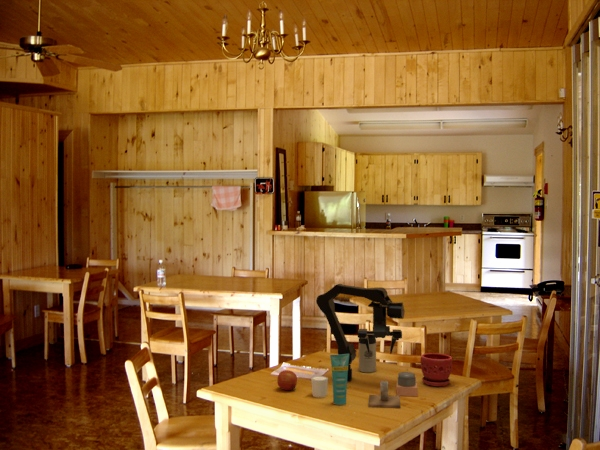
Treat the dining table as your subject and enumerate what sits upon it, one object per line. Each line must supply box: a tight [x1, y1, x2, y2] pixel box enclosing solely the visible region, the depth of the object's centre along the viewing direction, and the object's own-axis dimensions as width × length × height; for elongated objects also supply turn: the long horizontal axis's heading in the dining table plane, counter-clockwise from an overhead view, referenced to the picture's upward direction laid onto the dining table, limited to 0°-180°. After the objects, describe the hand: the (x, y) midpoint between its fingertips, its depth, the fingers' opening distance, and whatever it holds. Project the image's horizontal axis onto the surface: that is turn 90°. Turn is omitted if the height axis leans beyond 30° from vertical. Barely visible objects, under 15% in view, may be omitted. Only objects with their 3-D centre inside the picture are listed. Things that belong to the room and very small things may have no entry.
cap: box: [397, 371, 417, 387], centre depth 244 cm, size 7×7×4 cm
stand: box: [396, 380, 418, 397], centre depth 245 cm, size 8×8×4 cm
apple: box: [277, 369, 298, 391], centre depth 251 cm, size 8×8×8 cm
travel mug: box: [358, 335, 377, 373], centre depth 278 cm, size 8×8×18 cm
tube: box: [329, 354, 349, 406], centre depth 232 cm, size 7×5×19 cm, turn 103°
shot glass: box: [310, 375, 329, 398], centre depth 243 cm, size 7×7×7 cm
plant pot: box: [420, 352, 453, 387], centre depth 257 cm, size 13×13×12 cm
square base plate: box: [368, 380, 401, 409], centre depth 233 cm, size 12×12×8 cm
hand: (379, 353), depth 258 cm, fingers open, 9 cm apart
